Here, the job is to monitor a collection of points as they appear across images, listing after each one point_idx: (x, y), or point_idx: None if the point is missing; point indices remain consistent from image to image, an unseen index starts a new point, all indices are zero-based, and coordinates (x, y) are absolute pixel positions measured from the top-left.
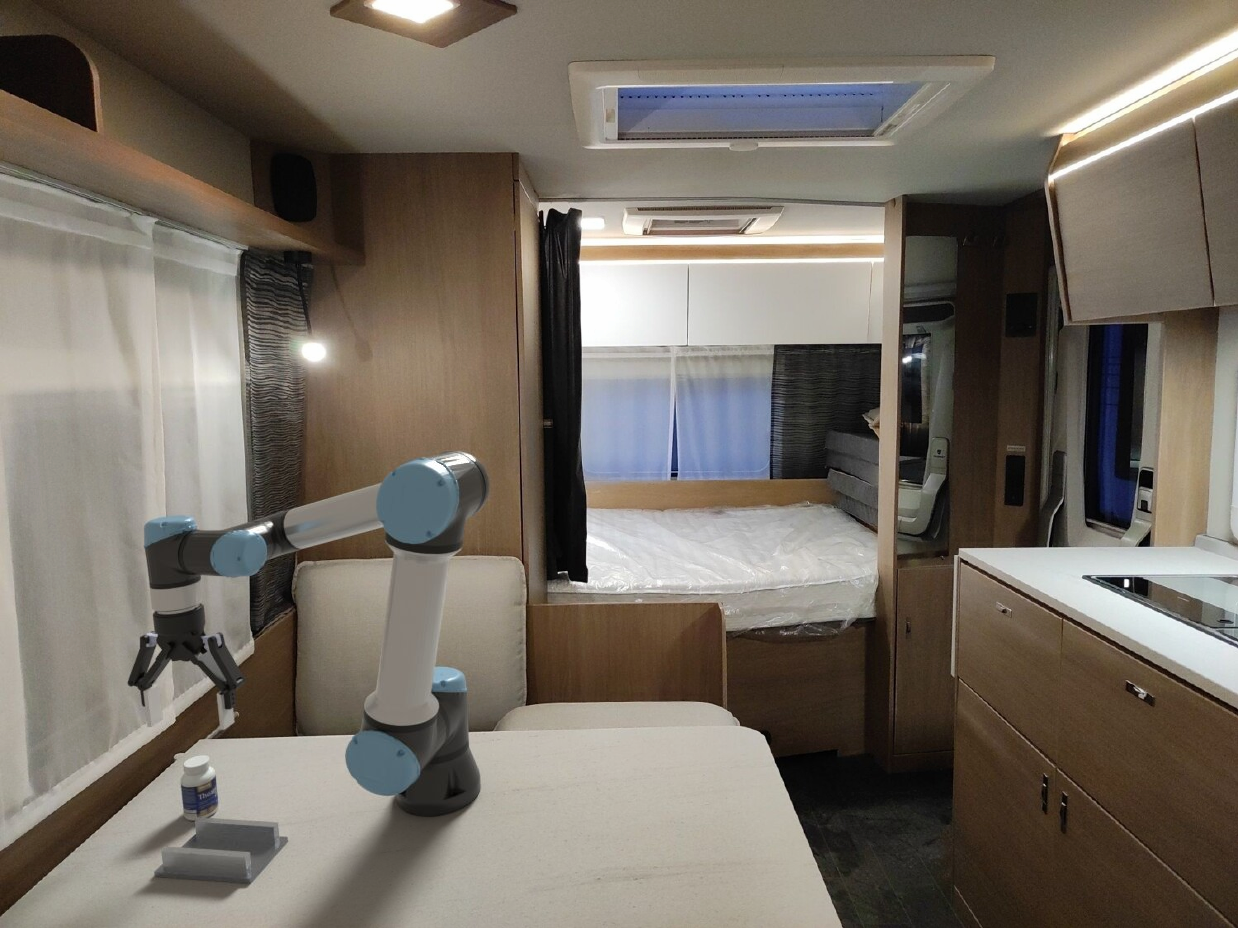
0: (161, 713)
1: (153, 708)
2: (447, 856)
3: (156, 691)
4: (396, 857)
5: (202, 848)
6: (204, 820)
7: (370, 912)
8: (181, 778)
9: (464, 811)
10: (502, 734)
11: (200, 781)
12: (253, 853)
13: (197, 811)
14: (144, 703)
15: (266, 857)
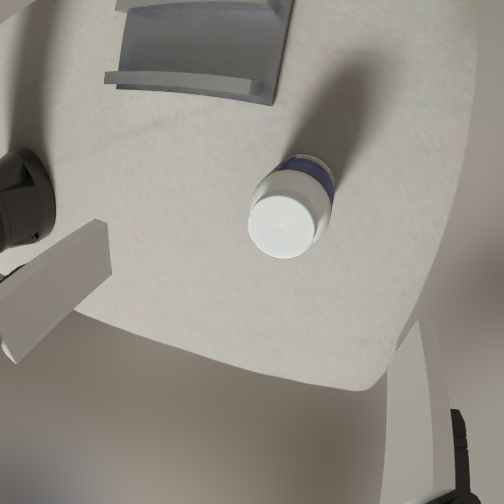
0: (389, 384)
1: (413, 397)
2: (3, 89)
3: (394, 482)
4: (26, 79)
5: (234, 52)
6: (232, 83)
7: (32, 7)
8: (323, 199)
9: None
10: None
11: (267, 178)
12: (145, 46)
13: (293, 157)
14: (453, 422)
15: (125, 41)
